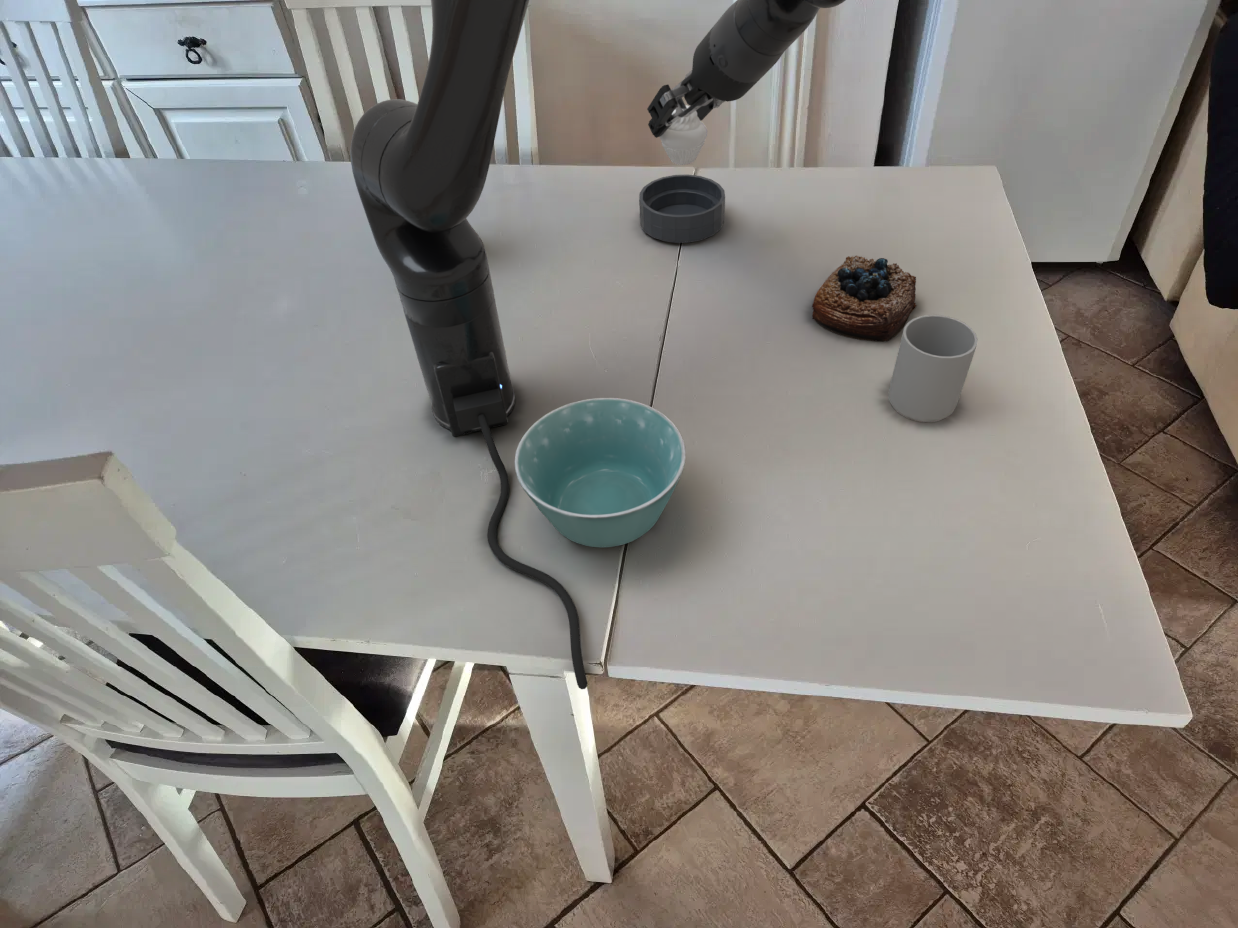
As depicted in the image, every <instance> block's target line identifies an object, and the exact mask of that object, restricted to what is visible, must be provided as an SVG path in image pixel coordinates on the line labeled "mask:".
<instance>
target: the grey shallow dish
mask: <svg viewBox="0 0 1238 928" xmlns="http://www.w3.org/2000/svg"><path fill="white" fill-rule="evenodd" d="M638 202H639V226H640V228H641V229H642V230H643V232H644V233H645V234H647V235H648V236H649V237H651V238H654V239H657V240H659V241H663V242H667V243H673V244H674V243H675V244H684V243H685V244H686V243H687V244H688V243H694V242H698V241H702V240H705V239H708V238H710V237H713V236H715V234H717V233H718V232H719V231H720V230H721V229H722V228H723V226H724V224H725V214H726V213H725V212H726V211H725V209H726V192H725V189H724V187H723V186H722V185H721V184H720V183H718V182H716V181H715V180H713V179H711V178H708V177H705V176H702V175H696V174H695V175H694V174H673V175H667V176H663V177H659V178H657V179H654V180H652V181H649V182H648V183H647V184H646V185H644V186H643V187H642V189H641V190H640V192H639V196H638Z"/></svg>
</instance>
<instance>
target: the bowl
mask: <svg viewBox="0 0 1238 928" xmlns="http://www.w3.org/2000/svg"><path fill="white" fill-rule="evenodd" d="M686 452H687V450H686V444H685V441H684V438H683V436H682V434H681V431H680V430H679V429H678V427H677V426H676V424H675V423H674V422H673V421H672V420H671V419H670V418H669V417H668V416H666V415H665V414H664V413H663V412H661V411H659V410H658V409H656V408H654V407H652V406H650V405H648V404H645V403H642V402H639V401H635V400H631V399H627V398H617V397H596V398H595V397H594V398H587V399H582V400H581V399H580V400H578V401H574V402H570V403H567V404H565V405H562V406H560V407H557V408H555V409H553V410H551V411H550V412H548V413H546V414H544V415H543V416H542V417H541V418H539V419H538V420H537V421H535V422H534V423H533V424H532V425H531V426H530V427H529V428H528V429H527V430H526V432H525V433H524V435H523V436H522V438H521V439H520V441H519V443H518V445H517V447H516V450H515V455H514V456H515V457H514V471H515V475H516V478H517V481H518V483H519V485H520V486H521V487H522V490H523V491H524V492H525V494H526V495H527V496H528V497H529V498H530V500H531V501H532V502H533V504H534V505H535V506H536V507H537V508H538V510H539V511H540V512H541V513H542V515H543V516H544V517H545V518H546V519H547V520H548V522H549V523H550V524H551V525H552V526H553V527H554V528H555V529H556V531H557V532H559V533H560V534H561V535H562V536H563V537H565V538H566V539H567V540H570V541H571V542H574V543H576V544H578V545H582V546H585V547H590V548H613V547H618V546H622V545H626V544H628V543H629V544H630V543H631V542H633V541H636V540H637V539H640V538H641V537H642V536H644V535H645V534H647V532H649V531H650V530H651V529H652V528H653V527H654V526H655V524H657V522H658V521H659V519H660V517H661V515H662V513H663V511H664V510H665V508H666V506H667V504H668V502H669V501H670V499H671V497H672V495H673V493H674V491H675V489H676V486H678V483H679V480H680V478H681V476H682V474H683V471H684V468H685V465H686V459H687V453H686Z"/></svg>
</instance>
